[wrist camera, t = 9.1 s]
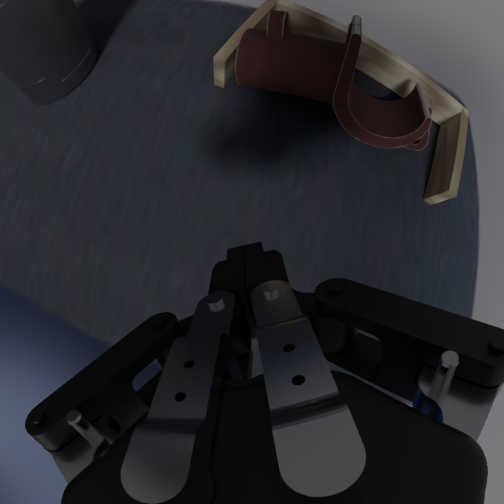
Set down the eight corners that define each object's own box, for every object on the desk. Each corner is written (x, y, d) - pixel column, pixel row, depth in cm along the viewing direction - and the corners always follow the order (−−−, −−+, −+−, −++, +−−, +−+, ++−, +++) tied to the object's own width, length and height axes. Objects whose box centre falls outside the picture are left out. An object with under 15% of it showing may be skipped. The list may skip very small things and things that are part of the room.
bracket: (424, 170, 22) (472, 79, 13) (236, 119, 24) (232, 14, 15) (417, 130, 24) (452, 50, 16) (256, 87, 27) (257, -2, 18)
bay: (214, 84, 23) (213, 57, 19) (266, 20, 24) (271, -5, 20) (430, 205, 24) (456, 196, 21) (447, 125, 26) (468, 111, 22)
